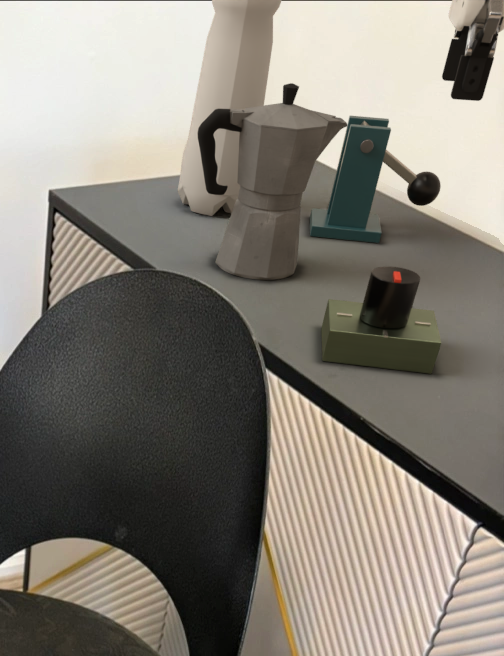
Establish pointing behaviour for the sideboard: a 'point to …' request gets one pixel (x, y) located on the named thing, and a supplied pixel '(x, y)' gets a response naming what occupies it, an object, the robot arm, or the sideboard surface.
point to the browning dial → (389, 297)
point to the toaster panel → (379, 339)
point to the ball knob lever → (414, 180)
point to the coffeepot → (266, 181)
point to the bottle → (227, 94)
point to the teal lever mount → (355, 184)
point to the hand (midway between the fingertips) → (460, 89)
